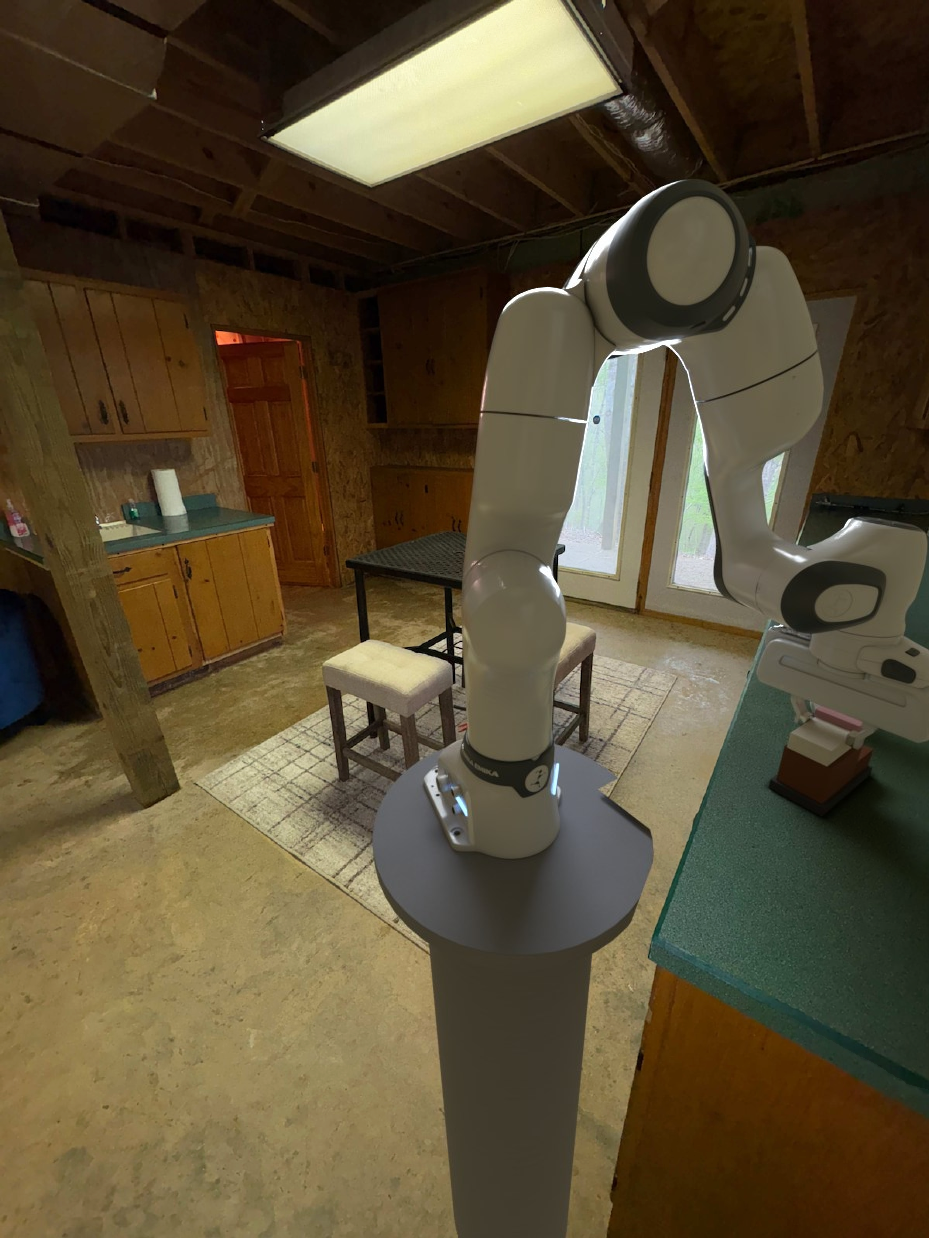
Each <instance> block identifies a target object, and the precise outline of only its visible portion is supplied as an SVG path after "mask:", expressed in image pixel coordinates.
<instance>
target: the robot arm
mask: <svg viewBox="0 0 929 1238" xmlns="http://www.w3.org/2000/svg"><path fill="white" fill-rule="evenodd" d="M813 325H814V324H813V322H812V317H811V313H810V311H809V309H808V305H807V303H806V298H805V296H804V293H803V291H802V288H801V285H800V283H799V280H798V279H797V276H796V273H795V271H794V269H793V267H792V264H791V262H790V261H789V258H788V257H787V256H786V255H785V254H784V252H783V251H781V250H780V249H778V248H777V247H773V246H768V245H757V243H756V240H755V238H754V237H753V235H752V234H751V233H750V232H749V231H748V229H747V226H746V223H745V220H744V218H743V216H742V214H741V212H740V210H739V208H738V206H737V205H736V204H735V202H734V201H733V200H732V198H731V197H730V196H729V195H728V194H727V193H726V192H725V191H724V190H723V189H721V188H720V187H719V186H717V185H715V184H714V183H712V182H710V181H707V180H705V179H698V178H690V179H682V180H678V181H675V182H671V183H669V184H666V185H664V186H661V187H659V188H657V189H656V190H653V191H652V192H650V193H648V194H647V195H645V196H644V197H642V198H641V199H640V200H638V201H637V202H636V203H635V204H634V205H633V206H632V207H631V208H630V209H629V211H627V213H626V214H625V215H623V216H622V217H621V218H620V219H619V220H618V221H616V222H614V224H612V225H610V226H609V227H608V228H607V229H606V230H605V231H604V232H603V233H602V234H601V235H600V236H599V238H597V240H596V241H594V243H593V244H592V245H591V247H590V248H589V250H588V252H587V253H586V254H585V256H584V257H582V259H581V260H580V261H579V262H578V263H577V265H576V266H575V267H574V269H572V272H571V273H570V275H569V276H568V278H567V280H566V281H565V283H564V284H563V286H562V287H561V288H557V287H538V288H537V287H536V288H533V289H530V290H527V291H524V292H522V293H520V294H518V295H516V296H515V297H513V298H512V299H511V300H510V301H508V302H507V304H506V305H505V306H504V308H503V310H502V311H501V313H500V315H499V318H498V320H497V323H496V328H495V331H494V335H493V337H492V343H491V346H490V351H489V353H488V358H487V363H486V369H485V374H484V379H483V385H482V392H481V400H480V408H479V417H478V426H477V428H478V429H477V435H476V436H477V438H476V439H477V440H476V445H475V446H476V448H475V456H474V457H475V458H474V468H473V478H472V486H471V487H472V488H471V495H470V496H471V497H470V506H469V514H468V523H467V530H466V532H467V533H466V541H465V549H464V551H465V552H464V557H463V558H464V559H463V566H462V567H463V568H462V577H461V578H462V579H461V609H460V610H461V611H460V615H461V616H460V617H461V619H460V621H461V638H462V655H463V671H464V672H463V673H464V686H465V687H464V688H465V690H464V691H465V706H461V705H457V704H453V706H452V708H453V709H455V710H459V711H463V712H466V713H465V715H466V721H465V722H463V723H461V724H459V725H457V727H458V728H460V729H458V730H457V733H462V732H464V731H465V732H464V735H463V737H462V738H460V739H458V740H456V741H454V742H452V743H450V744H449V745H447V746H446V747H444V748H445V749H444V748H443V749H444V750H443V751H442V752H441V753H440V755H439V757H438V765H437V766H435V767H434V768H433V769H431V770H430V771H429V772H428V773H427V774H426V776H425V777H424V787H425V789H426V791H427V793H428V796H429V798H430V800H431V802H432V805H433V807H434V809H435V811H436V813H437V816H438V818H439V820H440V822H441V825H442V827H443V829H444V831H445V834H446V836H447V838H448V840H449V842H450V845H451V847H452V848H453V849H454V850H456V851H462V852H473V851H476V852H481V853H484V854H487V855H490V856H494V857H498V858H505V859H518V858H525V857H529V856H532V855H535V854H537V853H539V852H541V851H543V850H544V849H546V848H547V847H548V846H550V845H551V844H552V843H553V841H554V840H555V839H556V837H557V835H558V833H559V830H560V815H559V809H558V806H559V803H560V801H561V789H560V788H559V787H558V786H557V777H558V769H559V764H557V765H556V766H555V757H554V751H555V744H556V742H555V735H554V732H553V730H552V729H553V728H552V727H553V707H554V706H553V705H554V703H553V702H554V688H555V687H554V686H555V679H556V675H557V670H558V667H559V663H560V657H561V653H562V652H561V651H562V648H563V646H564V644H565V640H566V635H567V607H566V606H567V605H566V600H565V598H564V595H563V592H562V590H561V589H560V587H559V585H558V583H557V582H556V580H555V577H554V570H553V569H554V559H555V554H556V552H557V549H558V548H557V547H558V544H559V541H560V537H561V535H562V531H563V528H564V525H565V523H566V519H567V517H568V514H569V512H570V510H571V509H572V507H573V504H574V502H575V497H576V493H577V487H578V480H579V475H580V470H581V464H582V458H583V451H584V446H585V441H586V436H587V429H588V422H589V418H590V411H591V405H592V397H593V389H594V388H595V387H596V386H595V385H596V383H597V380H598V376H599V374H600V372H601V370H602V368H603V366H604V364H605V363H606V361H608V360H613V359H617V358H620V357H623V356H626V355H630V354H631V355H633V354H640V353H641V354H642V353H644V352H648V351H651V350H653V349H656V348H659V347H660V346H662V345H664V346H666V347H668V348H670V350H672V351H673V352H674V353H675V354H676V355H677V357H678V358H679V359H680V361H681V363H682V365H683V366H684V369H685V371H686V373H687V376H688V377H687V378H688V380H689V386H690V390H691V394H692V398H693V402H694V405H695V409H696V413H697V416H698V421H699V426H700V430H701V435H702V442H703V447H702V448H703V449H702V467H703V468H702V469H703V476H704V483H705V488H706V493H707V498H708V504H709V510H710V515H711V521H712V525H713V531H714V538H715V554H714V560H713V568H712V569H713V571H712V575H713V581H714V585H715V587H716V589H717V591H718V592H719V594H720V595H721V596H723V598H725V599H726V600H728V601H731V602H732V603H736V604H738V605H740V606H743V607H745V608H749V609H751V610H752V611H754V612H756V613H757V614H760V615H761V616H763V617H765V618H767V619H770V620H771V621H774V622H776V623H778V624H779V625H774V626H771V627H770V628H769V629H768V630H767V631H766V634H765V636H764V637H765V638H764V646H765V648H764V650H763V652H762V654H761V657H760V659H759V662H758V665H757V669H756V677H757V679H758V680H759V682H760V683H762V684H764V685H766V686H769V687H772V688H775V689H777V690H780V691H783V692H785V693H787V694H790V695H791V696H790V699H789V701H790V704H791V706H792V708H793V710H794V713H795V717H794V721H793V722H794V724H795V725H798V726H802V725H803V724H805V723H806V722H808V721H809V720H811V719H812V718H814V713H813V712H810V711H808V708H807V705H806V702H805V701H808V702H809V703H810V702H813V703H816V704H818V705H821V706H823V707H826V708H828V709H831V710H834V711H836V712H839V713H841V714H844V715H846V716H849V717H852V718H854V719H857V720H859V721H862V725H861V728H862V729H865V730H864V731H862V732H857V731H855V730H853V731H851V733H849V734H847V737H846V739H847V741H846V743H845V744H846V745H848V746H850V747H852V748H855V749H857V750H858V749H859V748H861V747H862V745H864V743H865V740H866V738H867V737H869V736H871V735H872V734H874V733H875V732H877V731H878V730H879V729H880V730H883V731H885V732H888V733H890V734H892V735H895V736H898V737H900V738H903V739H906V740H908V741H911V742H913V743H917V744H922V743H924V742H928V741H929V649H928V648H926V647H924V646H922V645H920V644H919V643H917V642H915V641H913V640H912V639H910V638H908V637H907V636H905V631H906V614H907V612H908V610H909V608H910V606H911V605H912V603H913V602H914V601H915V600H916V597H917V594H918V593H919V588H920V586H921V582H922V578H923V575H924V571H925V567H926V562H927V555H928V537H927V533H926V531H924V530H923V529H922V528H920V527H918V526H916V525H915V524H911V523H910V524H909V523H905V522H900V521H895V520H888V519H883V518H878V517H871V516H855V517H851V518H849V519H848V520H847V521H846V522H845V524H844V527H843V528H841V529H840V530H839V531H837V532H836V533H834V534H833V535H831V536H830V537H828V538H826V539H824V540H821V541H819V542H817V543H814V544H812V545H807V546H803V545H799V544H796V543H793V542H791V541H787V540H785V539H784V538H782V537H781V536H779V535H777V533H775V532H774V531H773V530H772V529H771V527H770V525H769V523H768V517H767V509H766V501H765V493H764V483H763V472H764V468H765V466H766V464H767V463H768V462H769V461H771V460H774V459H775V458H777V457H779V456H780V455H782V454H784V453H786V452H787V451H789V450H791V449H792V448H794V447H795V446H796V445H797V444H798V443H799V442H801V440H803V439H804V437H806V435H807V434H808V433H809V432H810V430H811V429H812V428H813V427H814V425H815V423H816V422H817V420H818V418H819V416H820V414H821V413H822V410H823V404H824V389H825V388H824V387H825V386H824V374H823V370H822V369H823V368H822V364H821V359H820V353H819V347H818V343H817V339H816V334H815V329H814V326H813ZM456 835H458V836H456Z"/></svg>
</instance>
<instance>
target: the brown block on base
mask: <svg viewBox="0 0 929 1238" xmlns="http://www.w3.org/2000/svg"><path fill="white" fill-rule="evenodd" d="M787 745H788V743H786V744H785V745H784V746H783V751H782V755H781V759H780V763H779V767H778V770H777V774H776V775H775V776H773V777H772V778H770V779H769V780H770V781H769V784H768V789H770V790H772V791H774V792H776V793H778V794H779V795H782V796H784V797H785V798H786V799H789V800H790V801H792V802H794V803H795V804H798V805H799V806H801V807H803V808H805V809H806V810H808V811H811V812H812V813H814V814H816V815H818V816H820V817H824V815H826V814H827V813H828V812H829V811H831V809H833V808H834V807H835V806H836V805H837V804H838V803H840V802H841V801H842V800H843V799H844V798H845V797H846V796H847V795H849V794H850V793H851V792H852V791H853V790H854V789H855V788H857V787H858V786H859V785H860V784H861V783H862V782H864V781H865V780H866V779H867V778H868V777H870V776H871V773H872V772H873V766H871V765H869V764H870V760H871V758H872V755H873V753H874V748H871V747H868V746H867V745H865V744H863V745H862V747H861V748H859V749H858V750H857V749H855V748H850V749H849V750H848V751H847V752H845V753H844V754H843V755H841V756H840V757H839V758H837V759H836V760H835V761H834V762H832V763H831V764H830V765H828V766H825V765H823V764H821V763H819V762H817V761H814V760H812V759H810V758H808V757H806V756H804V755H802V754H800V753H798V752H796V751H793V750H791V749H789V748H787Z"/></svg>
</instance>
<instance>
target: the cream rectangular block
mask: <svg viewBox="0 0 929 1238" xmlns="http://www.w3.org/2000/svg"><path fill="white" fill-rule="evenodd" d="M861 725H862V721H859V720H857V719H854V718H852V717H849V716H846V715H844V714H841V713H839V712H836V711H834V710H831V709H828V708H826V707H823V706H820V707H818V708H816V709H815V713H813V717H812V718H811V720H809V721H808V722H806V723H805V724H803V725H802V726H801V725H799V726H798V727H797V728H796V729H794V730H793V731H791V732H789V733H790V734H789V738H788V741H787V744H788V745H787V744H786V745H787V748H789V749H791V750H793V751H796V752H798V753H800V754H802V755H804V756H806V757H808V758H810V759H812V760H814V761H817V762H819V763H821V764H823V765H825V766H828V765H830V764H831V763H832V762H834V761H835V760H836V759H837V758H839V757H840V756H841V755H843V754H844V753H845V752H847V751H848V750H849V749H850V748H852V747H850V746H848V745H846V744H845V743H846V741H847V739H846V737H847V734H849V733H851V731H853V730H855V731H857V732H862V731H864V730H865V729H862V728H861Z"/></svg>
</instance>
